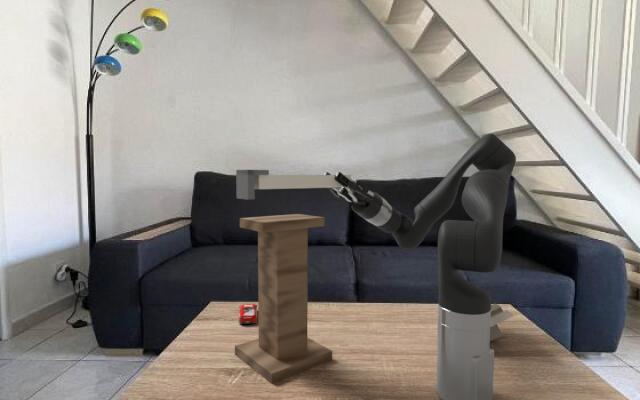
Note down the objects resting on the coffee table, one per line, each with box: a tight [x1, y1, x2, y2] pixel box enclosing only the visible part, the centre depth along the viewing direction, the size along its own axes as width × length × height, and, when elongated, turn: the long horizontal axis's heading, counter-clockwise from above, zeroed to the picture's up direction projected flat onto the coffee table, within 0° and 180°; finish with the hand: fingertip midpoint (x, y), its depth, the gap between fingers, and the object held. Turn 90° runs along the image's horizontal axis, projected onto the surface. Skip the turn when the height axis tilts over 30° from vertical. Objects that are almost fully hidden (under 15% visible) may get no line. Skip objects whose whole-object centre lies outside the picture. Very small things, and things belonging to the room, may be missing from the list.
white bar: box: [235, 169, 352, 200], centre depth 89 cm, size 5×29×6 cm, turn 129°
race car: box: [238, 303, 258, 325], centre depth 113 cm, size 13×5×4 cm, turn 9°
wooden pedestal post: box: [234, 213, 333, 384], centre depth 88 cm, size 16×16×32 cm
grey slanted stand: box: [490, 303, 515, 342], centre depth 98 cm, size 16×9×15 cm
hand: (330, 175), depth 95 cm, fingers closed on white bar, 4 cm apart
